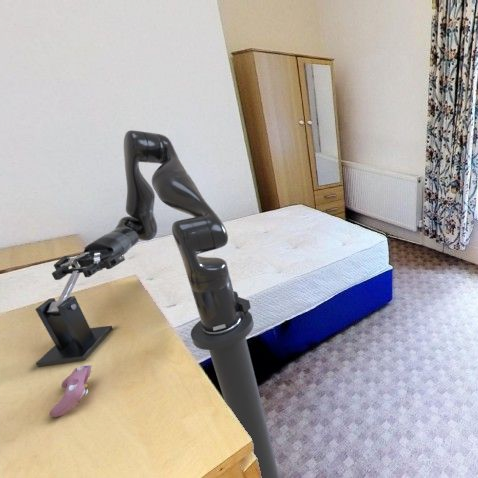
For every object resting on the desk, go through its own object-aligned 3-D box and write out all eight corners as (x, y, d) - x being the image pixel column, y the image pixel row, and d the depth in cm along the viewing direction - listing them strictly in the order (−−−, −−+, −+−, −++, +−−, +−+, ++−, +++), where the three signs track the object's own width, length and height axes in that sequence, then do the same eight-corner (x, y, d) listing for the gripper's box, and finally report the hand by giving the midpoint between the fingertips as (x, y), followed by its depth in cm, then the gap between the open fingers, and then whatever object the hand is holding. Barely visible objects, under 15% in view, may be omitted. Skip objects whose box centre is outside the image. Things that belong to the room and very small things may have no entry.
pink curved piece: (79, 417, 66) (88, 388, 66) (46, 420, 63) (56, 390, 63) (90, 384, 74) (98, 358, 73) (61, 386, 71) (69, 358, 70)
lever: (68, 272, 85) (62, 267, 83) (94, 270, 86) (88, 265, 84) (45, 317, 77) (37, 313, 75) (73, 314, 78) (66, 309, 77)
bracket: (72, 334, 87) (50, 291, 81) (113, 329, 89) (94, 286, 83) (37, 367, 76) (9, 320, 70) (84, 360, 78) (60, 314, 73)
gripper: (74, 238, 93) (27, 265, 78) (133, 234, 97) (99, 259, 82) (84, 261, 96) (41, 291, 81) (141, 256, 100) (110, 284, 85)
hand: (70, 275), depth 82 cm, fingers closed on lever, 5 cm apart
